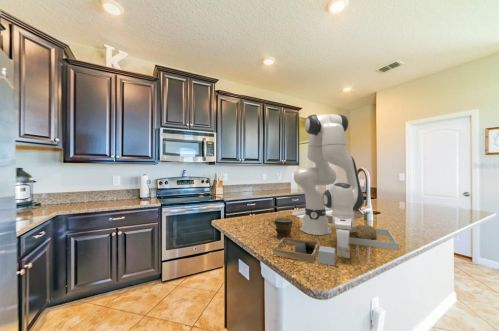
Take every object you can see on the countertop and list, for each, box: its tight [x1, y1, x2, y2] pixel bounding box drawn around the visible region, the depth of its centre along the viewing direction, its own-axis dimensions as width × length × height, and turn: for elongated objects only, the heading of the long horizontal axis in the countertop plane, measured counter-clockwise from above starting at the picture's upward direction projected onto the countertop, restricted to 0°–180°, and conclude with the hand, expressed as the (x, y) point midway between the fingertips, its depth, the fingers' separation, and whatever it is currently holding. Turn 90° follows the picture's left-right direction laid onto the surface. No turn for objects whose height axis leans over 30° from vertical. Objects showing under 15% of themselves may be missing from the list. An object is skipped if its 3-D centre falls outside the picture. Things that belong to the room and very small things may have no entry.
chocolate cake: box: [293, 240, 315, 255], centre depth 95 cm, size 10×7×12 cm
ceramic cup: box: [268, 217, 294, 240], centre depth 118 cm, size 13×10×10 cm
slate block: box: [317, 245, 336, 267], centre depth 87 cm, size 6×6×5 cm
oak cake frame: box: [272, 237, 320, 264], centre depth 97 cm, size 17×17×3 cm
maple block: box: [336, 243, 351, 259], centre depth 94 cm, size 5×5×5 cm
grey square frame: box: [349, 225, 399, 250], centre depth 116 cm, size 24×24×3 cm
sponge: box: [349, 224, 377, 240], centre depth 117 cm, size 13×8×20 cm
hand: (343, 251), depth 94 cm, fingers closed on maple block, 5 cm apart
